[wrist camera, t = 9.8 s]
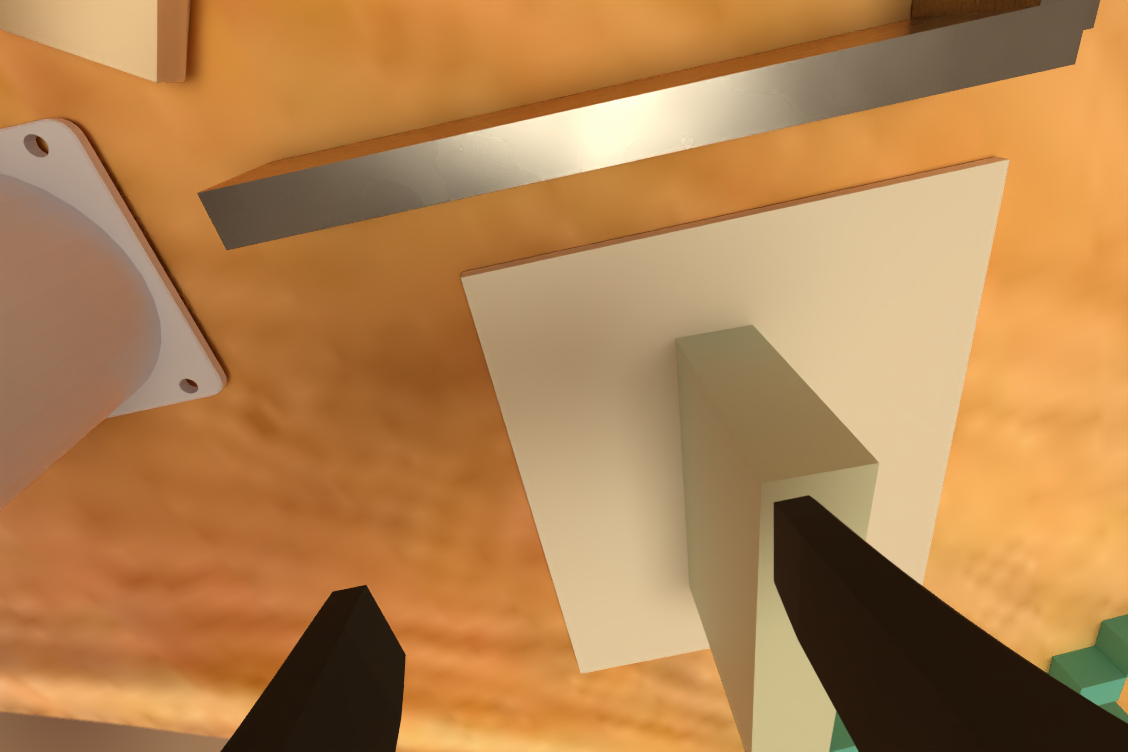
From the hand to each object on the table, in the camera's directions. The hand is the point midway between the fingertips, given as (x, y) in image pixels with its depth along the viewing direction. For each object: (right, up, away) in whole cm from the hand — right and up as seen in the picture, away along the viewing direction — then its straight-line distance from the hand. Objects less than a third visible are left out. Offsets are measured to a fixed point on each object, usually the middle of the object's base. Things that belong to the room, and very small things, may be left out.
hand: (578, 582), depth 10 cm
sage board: (+5, 0, +11) cm, 12 cm away
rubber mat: (+6, 0, +12) cm, 13 cm away
